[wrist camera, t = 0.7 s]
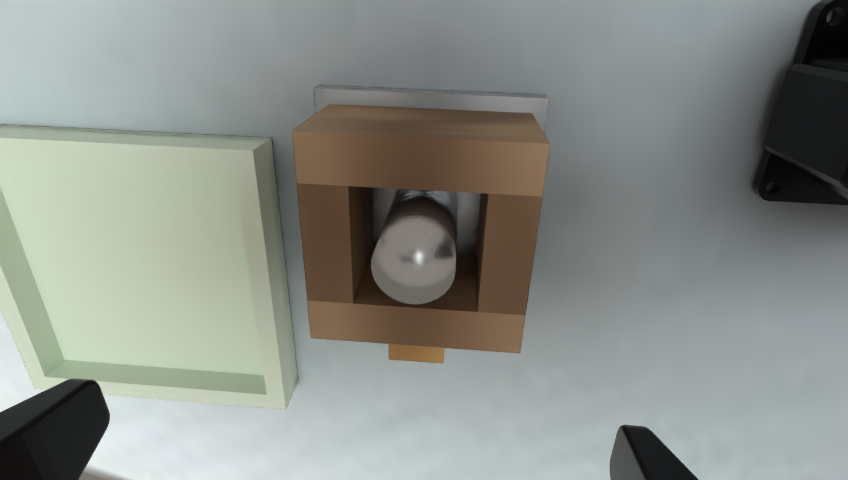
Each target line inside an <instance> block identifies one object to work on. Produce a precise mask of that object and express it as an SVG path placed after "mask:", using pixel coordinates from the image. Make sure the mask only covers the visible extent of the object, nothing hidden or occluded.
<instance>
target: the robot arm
mask: <svg viewBox="0 0 848 480" xmlns="http://www.w3.org/2000/svg"><path fill="white" fill-rule="evenodd" d="M834 8H835V10H836V17H835V18H834V20H833V21H832V22H831V23H829V24H828V23H827V21H826V20H827V15H828V13H829V12H830V11H831V10H832V9H834ZM764 146H765V150H764V153H763V156H762V159H761V162H760V165H759V168H758V171H757V173H756V176H755V179H754V182H753V191H754V193H755V194H757V195H758V196H759V197H761V198H762V199H764V200H768V201H782V202H801V203H819V204H838V205H848V0H824V1H822V2H821V3H819V4H818V5H817V6H816V7H815V8H814V10H813V11H812V13H811V15H810V18H809V21H808V24H807V27H806V30H805V33H804V36H803V38H802V41H801V44H800V47H799V50H798V53H797V56H796V59H795V62H794V65H793V67H792V68H791V69H790V70H789V71H788V72H787V75H786V78H785V81H784V84H783V87H782V90H781V93H780V95H779V98H778V101H777V104H776V107H775V110H774V113H773V116H772V119H771V122H770V125H769V128H768V131H767V134H766V137H765V140H764ZM772 181H775V185H774V187H773V188H771V189H770V190H766V187H767V185H768V184H769V183H770V182H772ZM109 420H110V413H109V410H108V407H107V404H106V402H105V399H104V396H103V393H102V391H101V388H100V386H99V384H98V383H97V382H96V381H95V380H90V379H78V378H73V379H68V380H66V381H64V382H62V383H60V384H58V385H56V386H54V387H51V388H49V389H47V390H45V391H43V392H41V393H39V394H37V395H35V396H33V397H31V398H29V399H27V400H25V401H23V402H21V403H19V404H17V405H15V406H12V407H10V408H8V409H6V410H4V411H2V412H0V480H79V478H80V476H81V474H82V473H83V471H84V469H85V467H86V465H87V464H88V462H89V460H90V458H91V456H92V455H93V453H94V451H95V449H96V447H97V446H98V444H99V442H100V440H101V438H102V436H103V435H104V433H105V431H106V429H107V427H108V424H109ZM610 477H611V480H698V479H697V477H696V476H695V475H694V474H693V473H692V472H691V471H690V470H689V469H688V468H687V467H686V466H685V465H684V464H683V463H682V462H681V461H680V460H679V459H678V458H677V457H676V456H675V455H674V454H673V453H672V452H671V451H670V450H669V449H668V448H667V447H666V446H665V445H664V444H663V443H662V441H661V440H660V439H659V438H658V437H657V436H656V435H655V434H654V433H653V432H652V431H651V430H649V429H648V428H646V427H643V426H632V425H622V426H620V428H619V429H618V432H617V435H616V439H615V443H614V447H613V451H612V455H611V459H610Z"/></svg>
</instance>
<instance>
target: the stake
mask: <svg viewBox="0 0 848 480" xmlns="http://www.w3.org/2000/svg"><path fill="white" fill-rule="evenodd" d="M314 100H315V114H316V113H317V112H319V111H320V110H322V109H323V108H324V107H326V106H327V105H328V104H339V105H361V106H384V107H406V108H429V109H451V110H474V111H496V112H519V113H532V114H533V115H534V117H535V119H536V121H537V122H538V124H539V126H540V127H541V129H542V131H543V133H544V132H545V125H546V118H547V110H548V103H549V98H548V97H547V96H546V95H544V94H520V93H497V92H473V91H449V90H426V89H402V88H378V87H355V86H331V85H319V86H317V87H316V88H314ZM480 197H481V193H467V192H449V191H430V190H412V189H393V188H375V187H373V210H374V248H375V250H374V253H373V256H372V260H371V270H372V275H373V277H374V280H375V282H376V283H377V285H378V286H379V288H380V289H381V290H382V291H383V292H384V293H385V294H387V295H388V296H389V297H391V298H393V299H395V300H397V301H400V302H403V303H407V304H424V303H428V302H431V301H434V300H436V299H438V298H439V297H441V296H442V295H443V294H444V293H446V291H447V290H448V289H449V288H450V286H451V285H452V282H453V280H454V277H455V269H456V253H469V254H476V244H477V232H478V221H479V209H480Z"/></svg>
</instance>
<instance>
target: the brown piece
mask: <svg viewBox="0 0 848 480" xmlns="http://www.w3.org/2000/svg"><path fill="white" fill-rule="evenodd" d="M292 136H293V147H294V158H295V170H296V181H297V192H298V203H299V214H300V225H301V236H302V247H303V258H304V269H305V280H306V291H307V302H308V313H309V325H310V336H311V338H317V339H331V340H345V341H358V342H372V343H386V344H389V359H391V360H405V361H418V362H432V363H443V360H444V348H455V349H468V350H482V351H496V352H510V353H520V350H521V343H522V336H523V329H524V322H525V315H526V308H527V301H528V294H529V287H530V280H531V273H532V266H533V259H534V252H535V245H536V238H537V231H538V224H539V217H540V210H541V203H542V196H543V189H544V183H545V176H546V169H547V162H548V155H549V148H550V143H549V141H548V139H547V138H546V136H545V134H544V133H543V131H542V129H541V127H540V126H539V124H538V122H537V121H536V119H535V117H534V115H533V114H532V113H519V112H496V111H474V110H451V109H429V108H406V107H384V106H361V105H339V104H328V105H327V106H326V107H324V108H323V109H322V110H320V111H319V112H317V113H316V114H315V115H313V116H312V117H311V118H309V119H308V120H307V121H305V122H304V123H303V124H301V125H300V126H299V127H297V128H296V129H295V130H293V131H292ZM373 187H375V188H393V189H412V190H430V191H449V192H467V193H481V197H480V209H479V221H478V232H477V244H476V254H469V253H456V269H455V277H454V280H453V282H452V285H451V286H450V288H449V289H448V290H447V291H446V293H444V294H443V295H442V296H441V297H439V298H438V299H436V300H434V301H431V302H428V303H424V304H407V303H403V302H400V301H397V300H395V299H393V298H391V297H389V296H388V295H387V294H385V293H384V292H383V291H382V290H381V289H380V288H379V286H378V285H377V283H376V282H375V280H374V277H373V275H372V270H371V260H372V256H373V253H374V250H375V248H374V210H373Z"/></svg>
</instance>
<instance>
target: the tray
mask: <svg viewBox="0 0 848 480" xmlns="http://www.w3.org/2000/svg"><path fill="white" fill-rule="evenodd" d="M0 309H1V311H2V313H3V316H4V318H5V320H6V323H7V325H8V328H9V330H10V332H11V335H12V337H13V340H14V342H15V344H16V347H17V349H18V351H19V354H20V356H21V359H22V361H23V363H24V366H25V368H26V370H27V373H28V375H29V378H30V380H31V382H32V385H33V387H34V389H40V390H47V389H49V388H51V387H54V386H56V385H58V384H60V383H62V382H64V381H66V380H68V379H73V378H78V379H90V380H95V381H96V382H97V383H98V384H99V386H100V388H101V391H102V393H103V395H114V396H126V397H139V398H151V399H163V400H175V401H188V402H200V403H212V404H224V405H237V406H249V407H261V408H273V409H286V408H287V406H288V404H289V401H290V399H291V397H292V395H293V392H294V390H295V388H296V386H297V383H298V376H297V367H296V358H295V349H294V340H293V330H292V321H291V312H290V303H289V294H288V285H287V276H286V266H285V257H284V248H283V239H282V230H281V221H280V212H279V203H278V193H277V184H276V175H275V166H274V157H273V148H272V139H271V138H269V137H249V136H228V135H208V134H187V133H167V132H146V131H126V130H105V129H85V128H64V127H44V126H23V125H3V124H0Z"/></svg>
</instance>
